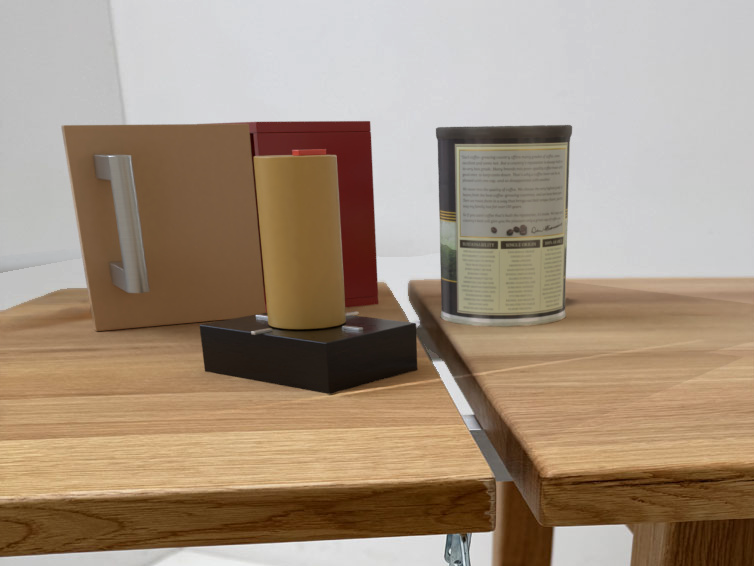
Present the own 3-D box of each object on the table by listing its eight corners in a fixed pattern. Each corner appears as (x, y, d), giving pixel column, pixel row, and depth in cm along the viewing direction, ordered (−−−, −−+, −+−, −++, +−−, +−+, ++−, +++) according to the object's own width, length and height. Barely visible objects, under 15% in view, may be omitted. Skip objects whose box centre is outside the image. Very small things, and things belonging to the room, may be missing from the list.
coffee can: (413, 317, 83) (407, 126, 77) (503, 303, 90) (504, 125, 84) (502, 333, 77) (503, 124, 71) (592, 316, 83) (600, 124, 77)
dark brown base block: (198, 374, 65) (192, 323, 63) (300, 351, 71) (296, 304, 70) (323, 397, 59) (319, 341, 57) (422, 370, 65) (421, 319, 64)
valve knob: (308, 332, 61) (295, 150, 56) (252, 325, 63) (235, 150, 59) (362, 320, 64) (353, 149, 60) (306, 314, 67) (294, 149, 62)
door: (292, 327, 79) (276, 122, 73) (112, 344, 73) (78, 124, 67) (262, 314, 85) (245, 123, 79) (93, 329, 79) (60, 125, 73)
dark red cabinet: (273, 316, 85) (256, 121, 79) (214, 297, 95) (195, 124, 89) (378, 305, 90) (370, 120, 84) (312, 288, 100) (300, 123, 94)
